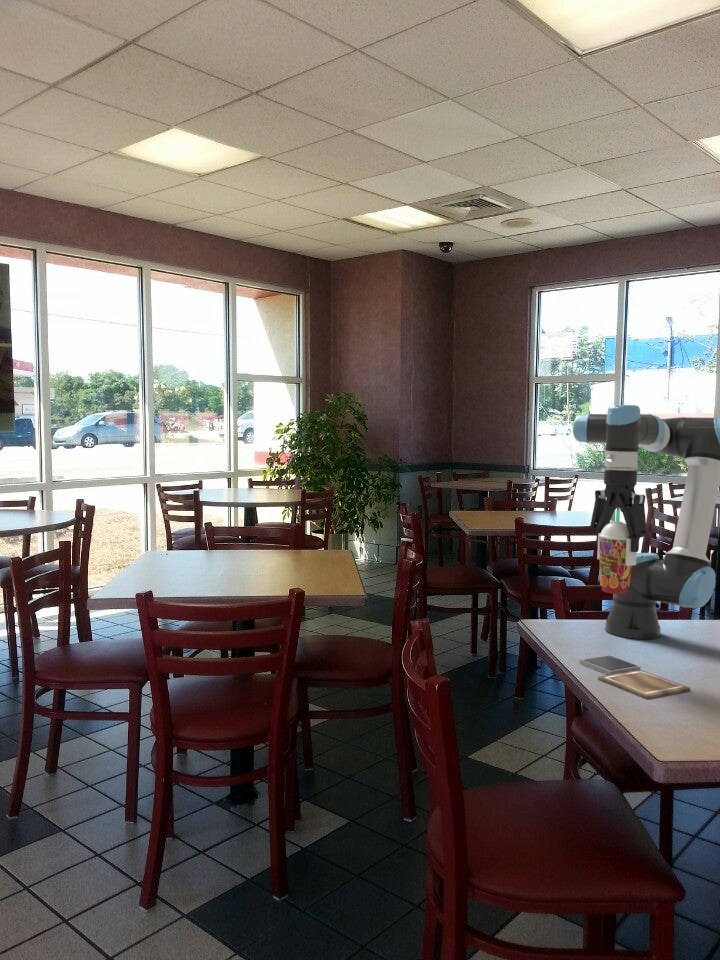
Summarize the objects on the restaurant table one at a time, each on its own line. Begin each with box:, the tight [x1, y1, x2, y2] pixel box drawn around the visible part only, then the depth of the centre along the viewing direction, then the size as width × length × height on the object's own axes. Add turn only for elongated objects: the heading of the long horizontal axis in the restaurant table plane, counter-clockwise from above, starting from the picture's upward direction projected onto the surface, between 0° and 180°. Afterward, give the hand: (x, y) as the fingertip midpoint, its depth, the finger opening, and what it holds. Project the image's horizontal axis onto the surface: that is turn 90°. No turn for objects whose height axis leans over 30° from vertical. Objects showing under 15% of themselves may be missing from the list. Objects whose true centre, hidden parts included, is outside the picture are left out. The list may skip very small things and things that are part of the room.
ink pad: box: [579, 654, 641, 675], centre depth 189 cm, size 10×10×1 cm
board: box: [597, 669, 691, 700], centre depth 176 cm, size 14×14×1 cm
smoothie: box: [599, 509, 632, 594], centre depth 187 cm, size 8×8×20 cm
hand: (616, 561), depth 187 cm, fingers closed on smoothie, 8 cm apart
